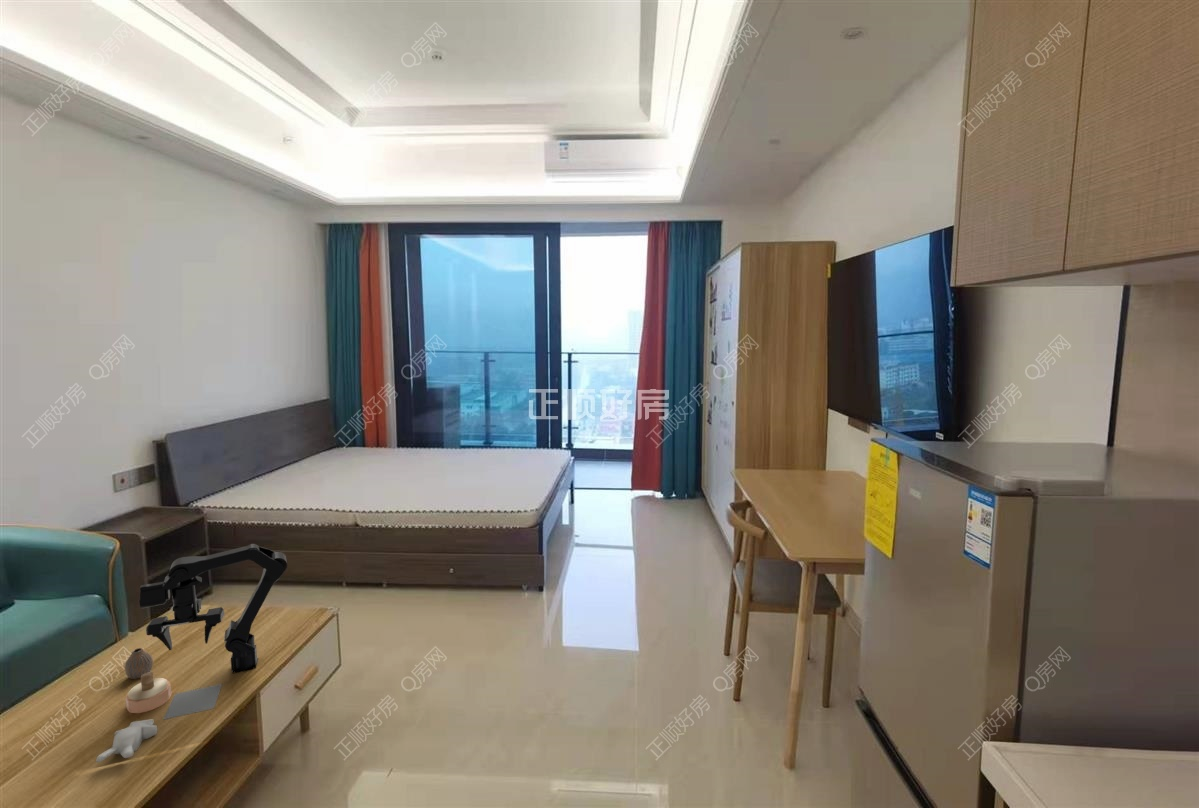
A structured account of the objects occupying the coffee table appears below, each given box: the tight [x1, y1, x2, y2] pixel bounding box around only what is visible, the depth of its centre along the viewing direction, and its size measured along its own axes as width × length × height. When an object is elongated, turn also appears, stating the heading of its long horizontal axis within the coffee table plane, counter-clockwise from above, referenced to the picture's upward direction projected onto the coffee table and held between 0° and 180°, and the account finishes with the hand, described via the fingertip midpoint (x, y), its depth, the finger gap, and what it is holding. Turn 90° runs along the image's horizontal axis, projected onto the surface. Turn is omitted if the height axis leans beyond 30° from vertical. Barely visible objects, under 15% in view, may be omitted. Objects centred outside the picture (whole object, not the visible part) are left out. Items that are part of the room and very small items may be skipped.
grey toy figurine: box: [95, 718, 158, 763], centre depth 146 cm, size 10×5×15 cm
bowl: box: [125, 679, 173, 714], centre depth 163 cm, size 10×10×4 cm
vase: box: [124, 647, 154, 680], centre depth 175 cm, size 7×7×9 cm
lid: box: [127, 671, 168, 701], centre depth 162 cm, size 9×9×5 cm
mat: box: [162, 683, 223, 721], centre depth 163 cm, size 12×12×1 cm
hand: (189, 646), depth 171 cm, fingers open, 9 cm apart
